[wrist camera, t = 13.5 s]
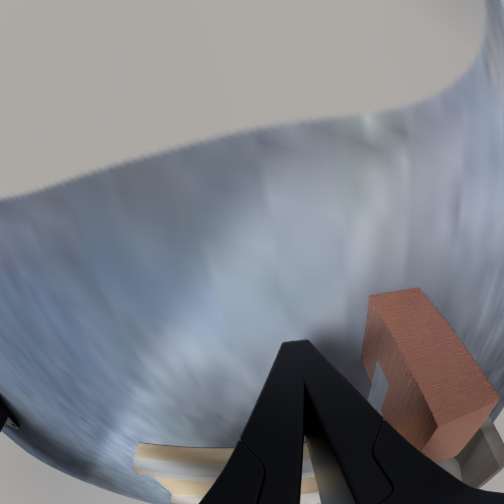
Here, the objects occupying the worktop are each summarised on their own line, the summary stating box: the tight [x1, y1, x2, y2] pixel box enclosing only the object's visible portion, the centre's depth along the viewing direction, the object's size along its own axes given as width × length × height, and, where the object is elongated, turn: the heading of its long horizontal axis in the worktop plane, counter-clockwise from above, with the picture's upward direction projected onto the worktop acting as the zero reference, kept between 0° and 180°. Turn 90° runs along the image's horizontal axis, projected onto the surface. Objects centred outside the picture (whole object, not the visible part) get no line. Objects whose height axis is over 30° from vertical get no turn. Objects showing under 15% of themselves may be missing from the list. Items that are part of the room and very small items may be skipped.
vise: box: [132, 416, 504, 504], centre depth 11 cm, size 20×7×5 cm, turn 97°
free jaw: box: [361, 288, 500, 464], centre depth 9 cm, size 2×16×4 cm, turn 7°
